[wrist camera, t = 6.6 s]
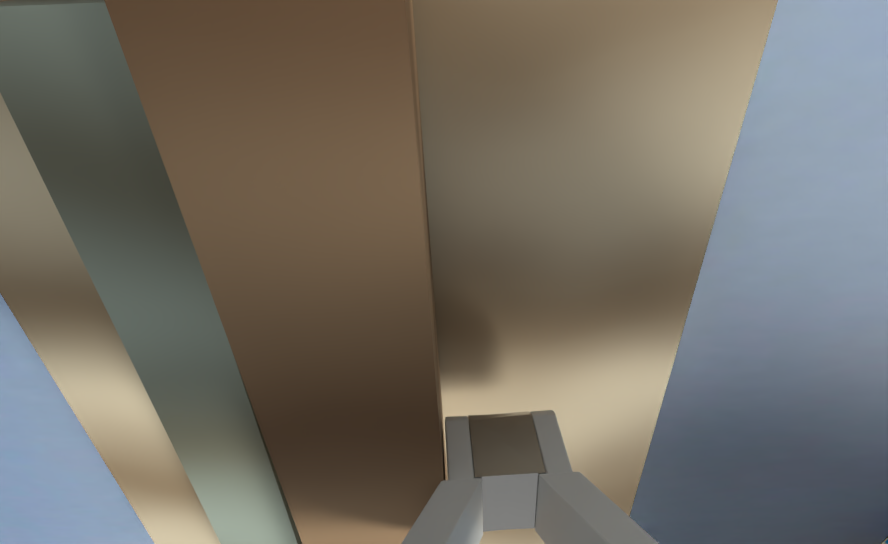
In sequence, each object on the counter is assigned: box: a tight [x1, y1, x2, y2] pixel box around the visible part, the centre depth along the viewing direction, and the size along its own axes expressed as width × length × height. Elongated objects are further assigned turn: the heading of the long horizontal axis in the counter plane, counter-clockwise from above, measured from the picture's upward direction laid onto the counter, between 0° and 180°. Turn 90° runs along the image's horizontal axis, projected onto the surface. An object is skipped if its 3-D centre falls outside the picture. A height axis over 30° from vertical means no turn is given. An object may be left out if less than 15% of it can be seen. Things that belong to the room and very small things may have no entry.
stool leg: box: [104, 0, 448, 544], centre depth 9 cm, size 22×3×4 cm, turn 3°
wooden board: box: [0, 0, 778, 544], centre depth 11 cm, size 25×15×4 cm, turn 2°
